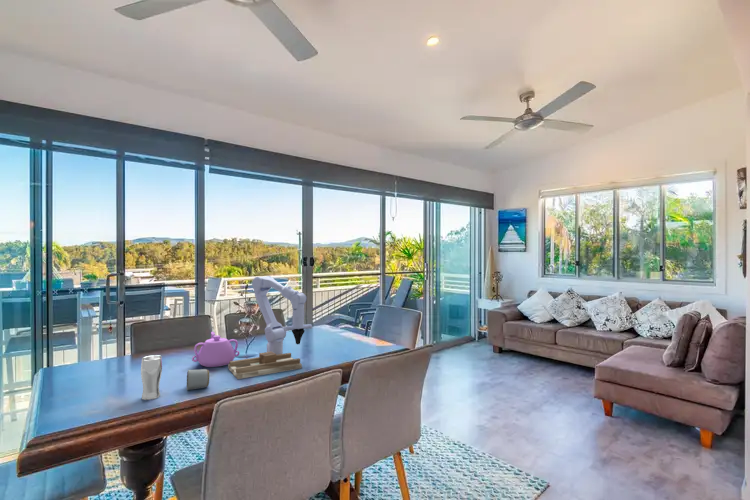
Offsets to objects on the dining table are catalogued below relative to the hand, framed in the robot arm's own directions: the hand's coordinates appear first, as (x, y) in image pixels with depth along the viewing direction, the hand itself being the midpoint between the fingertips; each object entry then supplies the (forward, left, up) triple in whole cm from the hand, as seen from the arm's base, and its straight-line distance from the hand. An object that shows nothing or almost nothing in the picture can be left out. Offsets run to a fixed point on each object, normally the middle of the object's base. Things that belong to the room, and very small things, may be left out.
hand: (297, 343), depth 191 cm
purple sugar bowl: (-21, -35, -10) cm, 42 cm away
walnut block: (+1, -16, -7) cm, 18 cm away
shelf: (+1, -17, -10) cm, 19 cm away
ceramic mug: (+11, -49, -10) cm, 51 cm away
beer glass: (+13, -65, -10) cm, 67 cm away
